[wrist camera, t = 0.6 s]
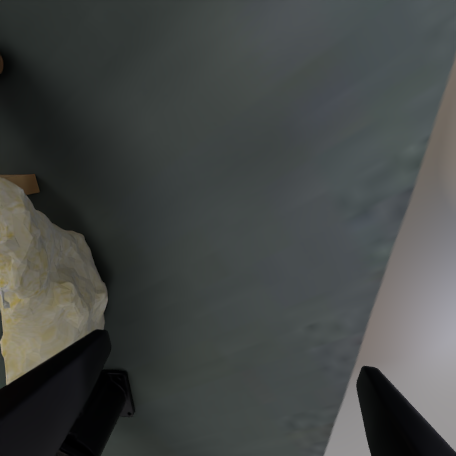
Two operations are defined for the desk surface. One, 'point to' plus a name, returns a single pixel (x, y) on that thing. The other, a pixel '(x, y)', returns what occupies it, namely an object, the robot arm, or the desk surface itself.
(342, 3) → the desk surface
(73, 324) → the pale lumpy rock
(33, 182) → the corner stop
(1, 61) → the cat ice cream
